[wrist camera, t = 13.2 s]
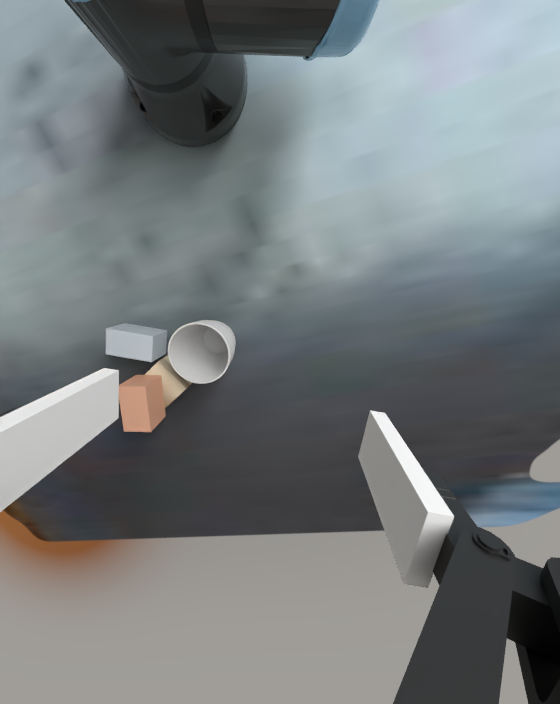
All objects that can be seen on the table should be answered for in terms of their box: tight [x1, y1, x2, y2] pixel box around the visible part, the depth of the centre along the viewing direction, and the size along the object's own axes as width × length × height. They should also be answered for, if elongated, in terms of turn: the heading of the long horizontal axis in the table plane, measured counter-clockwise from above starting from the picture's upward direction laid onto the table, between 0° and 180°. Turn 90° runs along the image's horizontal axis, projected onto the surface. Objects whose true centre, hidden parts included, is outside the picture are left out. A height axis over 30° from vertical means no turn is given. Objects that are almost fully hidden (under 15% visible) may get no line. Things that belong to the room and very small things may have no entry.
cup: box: [168, 320, 236, 384], centre depth 42 cm, size 8×8×10 cm
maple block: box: [119, 356, 193, 408], centre depth 48 cm, size 10×6×4 cm, turn 132°
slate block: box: [106, 323, 167, 362], centre depth 45 cm, size 7×4×5 cm, turn 81°
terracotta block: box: [119, 375, 166, 432], centre depth 43 cm, size 7×4×5 cm, turn 0°
